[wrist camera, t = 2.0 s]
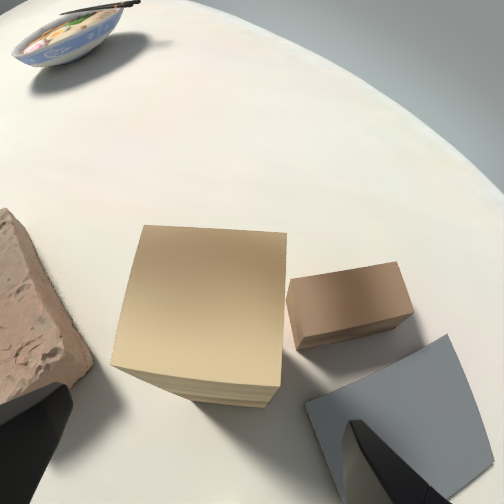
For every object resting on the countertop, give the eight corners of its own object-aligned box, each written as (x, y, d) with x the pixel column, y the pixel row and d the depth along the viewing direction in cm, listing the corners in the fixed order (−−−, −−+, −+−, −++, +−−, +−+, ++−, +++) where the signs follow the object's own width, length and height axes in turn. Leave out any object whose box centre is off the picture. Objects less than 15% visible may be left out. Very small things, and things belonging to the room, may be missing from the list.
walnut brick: (378, 284, 22) (396, 261, 19) (392, 329, 20) (414, 312, 17) (285, 301, 22) (290, 279, 19) (295, 351, 20) (303, 337, 17)
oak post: (264, 408, 18) (280, 386, 7) (191, 400, 18) (110, 364, 8) (269, 338, 20) (287, 232, 10) (199, 332, 20) (143, 224, 10)
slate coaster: (488, 460, 14) (494, 461, 14) (358, 543, 13) (362, 547, 12) (441, 337, 20) (447, 333, 19) (303, 403, 18) (305, 402, 17)
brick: (-28, 277, 22) (-56, 254, 18) (27, 225, 25) (2, 195, 21) (31, 429, 16) (-10, 423, 12) (104, 367, 19) (70, 350, 15)
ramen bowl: (6, 85, 43) (-8, 54, 36) (85, 31, 53) (78, 3, 46) (60, 94, 37) (43, 50, 30) (160, 31, 47) (154, -6, 40)
